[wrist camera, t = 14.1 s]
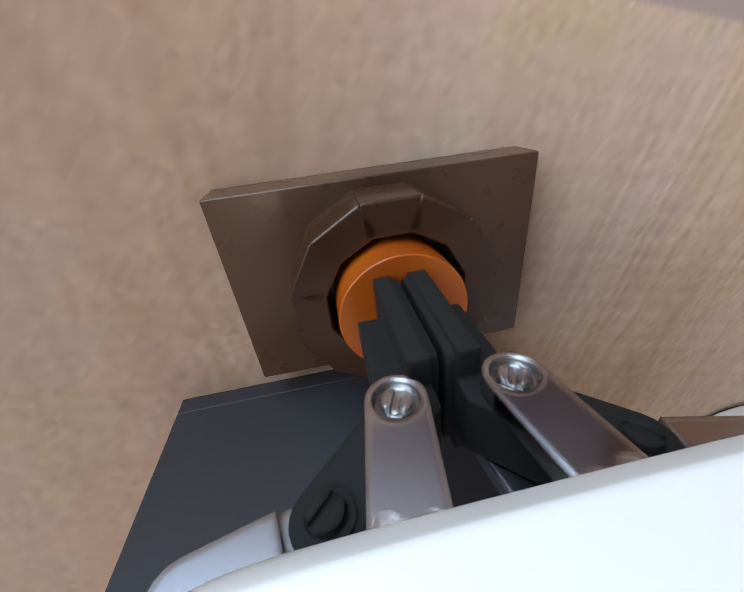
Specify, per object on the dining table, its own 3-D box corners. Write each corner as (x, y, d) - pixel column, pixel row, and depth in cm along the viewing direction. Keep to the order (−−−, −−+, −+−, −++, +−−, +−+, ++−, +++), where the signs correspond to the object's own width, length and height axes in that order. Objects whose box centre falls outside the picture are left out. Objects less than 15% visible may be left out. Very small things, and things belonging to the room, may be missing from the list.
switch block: (515, 145, 13) (578, 158, 10) (497, 310, 18) (538, 354, 14) (210, 190, 12) (178, 219, 9) (267, 354, 16) (259, 412, 13)
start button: (447, 223, 12) (471, 243, 10) (446, 323, 14) (465, 353, 12) (324, 243, 11) (328, 267, 10) (343, 343, 14) (349, 377, 12)
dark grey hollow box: (478, 340, 18) (601, 507, 11) (468, 481, 25) (537, 641, 18) (183, 399, 17) (83, 642, 9) (259, 531, 24) (238, 730, 16)
